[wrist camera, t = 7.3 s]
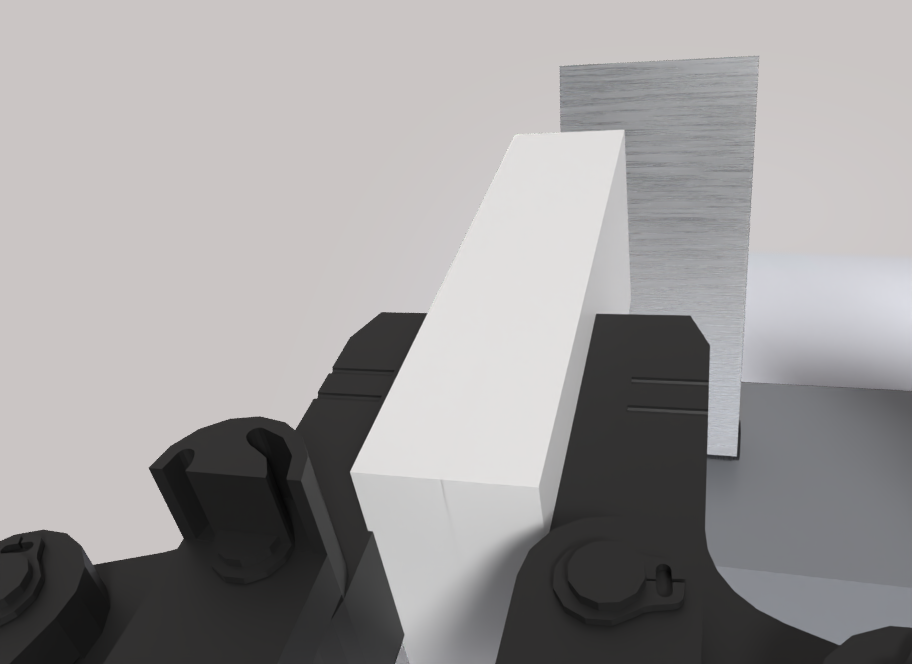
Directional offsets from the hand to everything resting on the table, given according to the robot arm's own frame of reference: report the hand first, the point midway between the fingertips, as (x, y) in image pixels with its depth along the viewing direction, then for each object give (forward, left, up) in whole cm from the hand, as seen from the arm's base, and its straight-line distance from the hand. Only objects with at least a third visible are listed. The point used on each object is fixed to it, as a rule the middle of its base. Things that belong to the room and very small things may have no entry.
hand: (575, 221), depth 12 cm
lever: (-7, -5, -13) cm, 15 cm away
